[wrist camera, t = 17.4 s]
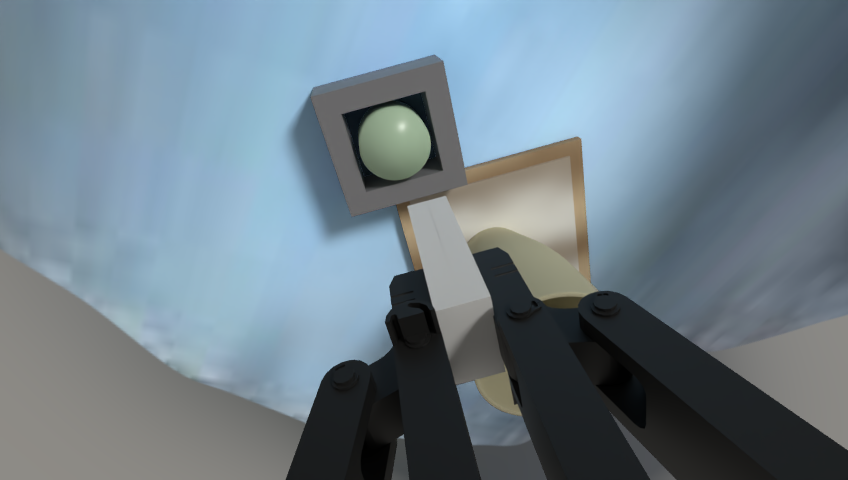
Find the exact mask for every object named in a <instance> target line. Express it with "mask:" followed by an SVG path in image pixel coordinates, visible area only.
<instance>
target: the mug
mask: <svg viewBox="0 0 848 480" xmlns="http://www.w3.org/2000/svg"><path fill="white" fill-rule="evenodd" d="M467 244H468V247H469V249H470V251H471V253H472V254H474V253H477V252H481V251H485V250H489V249H492V248H496V247H498V248H500V249H502V250H503V251H505V252H507V253H508V254H509V255H510V257H511V259H512V261H513V263H514V264H515V266H516V267H517V269H518V271H519V273H520V274H521V276H522V278H523V279H524V281H525V283H526V285H527V286H528V288H529V290H530V291H531V293H532V295H533V297H535V298H538V299H540V300H541V301H542V302H543V303H544V304H545V305H546V306H548V307H552V308H563V309H565V308H578V304H579V302H580V300H581V299H582V298H583V297H585V296H586V295H588V294H590V293H594V292H597V291H598V290H597V289H596V288H595V287H594V286H593V285H592V284H591V283H590V282H589V281H588V280H587V279H586V278H585V277H584V276H583V275H582V274H581V273H580V272H579V271H578V270H577V269H576V268H575V267H574V266H572V265H571V264H570V263H569V262H568V261H567V260H566V259H565V258H563V257H562V256H561V255H560V254H558V253H557V252H555V251H554V250H552V249H551V248H549V247H548V246H546V245H544V244H542V243H540V242H538V241H536V240H533V239H531V238H528V237H526V236H524V235H521V234H519V233H516V232H514V231H512V230H509V229H506V228H502V227H493V228H488V229H485V230H483V231H481V232H479V233H477V234H476V235H475V236H473V237H472V238H471V239H470V240H469V242H468V243H467ZM504 366H505V364H504ZM505 371H506V372H503V373H499V374H495V375H492V376H488V377H484V378H481V379H477V380H475V383H476V386H477V388H478V390H479V392H480V394H481V395H482V396H483V398H484V399H485V400H486V401H487V402H488V403H489V404H491V405H492V406H494V407H495V408H497V409H499V410H501V411H503V412H506V413H509V414H512V415H517V416H522V414H521V412H520V409H519V406H518V404H516V405H514V401H513V396H512V391H511V386H510V381H509V376H508V372H507V369H506V367H505Z"/></svg>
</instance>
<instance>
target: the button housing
mask: <svg viewBox="0 0 848 480" xmlns="http://www.w3.org/2000/svg"><path fill="white" fill-rule="evenodd" d="M417 93H421V96H422V100H423V105H424V109H425V114H426V118H427V122H428V127H429V131H430V135H431V140H432V144H433V148H434V153H435V157H433V158H429V159H428V160H427V161H426V163H425V165H424V166H423V167H422V168H421V169H420V170H419V171H418V172H417V173H416V174H414V175H413V176H411V177H409V178H406V179H402V180H387V179H383V178H380V177H378V176H376V175H375V174H371V175H368V176H364V174H363V171H362V167H361V164H360V161H359V158H358V155H357V152H356V148H355V145H354V142H353V139H352V136H351V133H350V129H349V126H348V123H347V120H346V117H345V113H347V112H351V111H355V110H358V109H362V108H366V107H369V106H373V105H377V104H380V103H384V102H388V101H391V100H395V99H399V98H402V97H406V96H410V95H413V94H417ZM311 100H312V103H313V106H314V109H315V112H316V115H317V118H318V121H319V124H320V126H321V129H322V132H323V135H324V138H325V141H326V144H327V147H328V150H329V152H330V155H331V158H332V161H333V164H334V167H335V170H336V173H337V176H338V179H339V181H340V184H341V187H342V190H343V193H344V196H345V199H346V202H347V205H348V208H349V210H350V213H351V216H352V217H353V216H357V215H360V214H364V213H368V212H371V211H375V210H378V209H382V208H386V207H389V206H393V205H396V204H400V203H404V202H407V201H411V200H414V199H418V198H422V197H425V196H429V195H432V194H436V193H440V192H443V191H447V190H450V189H454V188H458V187H461V186H465V185H468V183H467V178H466V173H465V168H464V163H463V158H462V153H461V148H460V143H459V138H458V133H457V128H456V123H455V118H454V113H453V108H452V103H451V98H450V93H449V88H448V83H447V78H446V73H445V68H444V63H443V60H441V59H440V58H438V57H437V56H435V55H432V56H428V57H425V58H421V59H417V60H414V61H410V62H406V63H402V64H399V65H395V66H391V67H388V68H384V69H380V70H377V71H373V72H369V73H366V74H362V75H358V76H354V77H351V78H347V79H343V80H340V81H336V82H332V83H329V84H325V85H321V86H318V87H314V88H313V90H312V93H311Z"/></svg>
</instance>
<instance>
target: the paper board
mask: <svg viewBox="0 0 848 480" xmlns="http://www.w3.org/2000/svg"><path fill="white" fill-rule="evenodd" d="M465 173H466V178H467V183H468V185H465V186H461V187H458V188H454V189H450V190H447V191H443V192H440V193H436V194H432V195H429V196H425V197H422V198H418V199H414V200H411V201H407V202H404V203H400V204H396V206H397V210H398V213H399V217H400V220H401V224H402V227H403V231H404V234H405V238H406V241H407V245H408V248H409V252H410V255H411V258H412V262H413V265H414V269H415V270H419V269H423V266H422V262H421V258H420V254H419V250H418V246H417V242H416V238H415V234H414V230H413V227H412V223H411V219H410V215H409V211H408V207H407V206H410V205H413V204H417V203H421V202H424V201H428V200H432V199H435V198H439V197H443V196H446V197H447V200H448V202H449V204H450V206H451V209H452V211H453V213H454V215H455V217H456V220H457V222H458V224H459V226H460V229H461V231H462V233H463V235H464V238H465V240H466V242H467V243H468V242H469V240H470V239H471V238H472V237H473V236H475V235H476V234H477V233H479V232H481V231H483V230H485V229H488V228H493V227H502V228H506V229H509V230H512V231H514V232H516V233H519V234H521V235H524V236H526V237H528V238H531V239H533V240H536V241H538V242H540V243H542V244H544V245H546V246H548V247H549V248H551V249H552V250H554V251H555V252H557V253H558V254H560V255H561V256H562V257H563V258H565V259H566V260H567V261H568V262H569V263H570V264H571V265H572V266H574V267H575V268H576V269H577V270H578V271H579V272H580V273H581V274H582V275H583V276H584V277H585V278H586V279H587V280H588V281H589V282H590V283H591V280H590V265H589V250H588V235H587V220H586V205H585V190H584V175H583V160H582V145H581V139H580V138H579V137H574V138H571V139H567V140H564V141H560V142H556V143H553V144H549V145H546V146H542V147H538V148H535V149H531V150H527V151H524V152H520V153H517V154H513V155H509V156H506V157H502V158H499V159H495V160H491V161H488V162H484V163H481V164H477V165H473V166H470V167H466V168H465Z"/></svg>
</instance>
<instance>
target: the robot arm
mask: <svg viewBox="0 0 848 480" xmlns="http://www.w3.org/2000/svg"><path fill="white" fill-rule="evenodd" d="M407 207H408V211H409V215H410V219H411V223H412V227H413V230H414V234H415V238H416V242H417V246H418V250H419V254H420V258H421V262H422V266H423V269H419V270H415V271H411V272H408V273H404V274H400V275H397V276H394V278H393V280H392V282H391V284H390V286H389V288H390V296H391V304H392V309H391V310H390V312H389V313H388V315H387V316H386V321H385V324H386V327H387V329H388V332H389V335H390V338H391V341H392V344H393V347H392V348H391V350H390V351H389V352H388V353H387V354H386V355H385V356H384V357H382V358H381V359H379V360H378V361H376V362H374V363H372V364H370V365H369V366H368V365H367V364H366V363H364V362H362V361H360V360H349V361H345V362H342V363H340V364H338V365H336V366H334V367H333V368H332V369H330V370H329V371H328V372H327V373H326V374H325V376H324V378H323V379H322V381H321V384H320V386H319V389H318V392H317V395H316V397H315V400H314V403H313V406H312V408H311V411H310V414H309V417H308V420H307V422H306V425H305V428H304V431H303V433H302V436H301V439H300V442H299V444H298V447H297V450H296V453H295V455H294V458H293V461H292V464H291V466H290V469H289V472H288V475H287V478H286V480H391V478H392V472H393V466H394V460H395V454H396V448H397V438H398V437H400V436H402V435H403V434H404V438H405V447H406V454H407V463H408V471H409V480H481V477H480V474H479V470H478V466H477V463H476V459H475V455H474V451H473V447H472V443H471V440H470V436H469V432H468V428H467V425H466V421H465V417H464V413H463V410H462V406H461V402H460V398H459V395H458V391H457V388H456V385H459V384H462V383H466V382H470V381H473V380H477V379H481V378H484V377H488V376H492V375H495V374H499V373H503V372H506V371H505V367H506V369H507V372H508V376H509V381H510V386H511V391H512V396H513V401H514V405H516V404H518V406H519V409H520V412H521V414H522V417H523V419H524V422H525V424H526V427H527V429H528V432H529V434H530V437H531V440H532V442H533V445H534V447H535V450H536V452H537V455H538V457H539V460H540V462H541V465H542V467H543V470H544V473H545V475H546V478H547V480H650V478H649V477H648V475H647V473H646V472H645V470H644V468H643V467H642V465H641V464H640V462H639V460H638V458H637V457H636V455H635V453H634V452H633V450H632V448H631V447H630V445H629V443H628V442H627V440H626V438H625V437H624V435H623V433H622V432H621V430H620V429H619V427H618V425H617V423H616V422H615V420H614V419H613V417H612V415H611V413H612V414H613V415H614V416H615V417H616V418H617V419H618V420H619V421H620V422H621V423H622V424H623V425H624V426H625V427H626V428H627V429H628V431H630V432H631V434H632V435H633V436H634V437H635V438H636V439H637V440H638V441H639V442H640V443H641V444H642V445H643V446H644V447H645V448H646V449H647V450H648V451H649V452H650V453H651V454H652V455H653V456H654V457H655V458H656V459H657V460H658V461H659V462H660V463H661V464H662V465H663V466H664V467H665V468H666V469H667V470H668V471H669V472H670V473H671V474H672V475H673V476H674V477H675V479H677V480H848V450H847V449H845V448H844V447H842V446H841V445H839V444H838V443H836V442H835V441H834V440H832V439H831V438H829V437H828V436H826V435H824V434H823V433H822V432H820V431H819V430H818V429H816V428H815V427H813V426H812V425H810V424H809V423H808V422H806V421H805V420H803V419H802V418H800V417H799V416H797V415H796V414H794V413H793V412H792V411H790V410H788V409H787V408H786V407H784V406H783V405H782V404H780V403H779V402H777V401H776V400H774V399H773V398H771V397H770V396H769V395H767V394H766V393H764V392H763V391H761V390H760V389H758V388H757V387H756V386H754V385H753V384H751V383H750V382H748V381H747V380H746V379H744V378H743V377H741V376H740V375H738V374H737V373H735V372H734V371H733V370H731V369H729V368H728V367H727V366H725V365H724V364H722V363H721V362H720V361H718V360H717V359H715V358H714V357H712V356H711V355H710V354H708V353H707V352H705V351H704V350H702V349H701V348H699V347H698V346H697V345H695V344H694V343H692V342H691V341H689V340H688V339H686V338H685V337H684V336H682V335H681V334H679V333H678V332H676V331H675V330H673V329H672V328H671V327H669V326H668V325H666V324H665V323H663V322H662V321H660V320H659V319H658V318H656V317H655V316H653V315H652V314H650V313H649V312H647V311H646V310H645V309H643V308H642V307H640V306H639V305H637V304H636V303H635V302H633V301H632V300H630V299H629V298H627V297H626V296H623V295H621V294H619V293H616V292H611V291H597V292H594V293H590V294H588V295H586V296H585V297H583V298H582V299H581V300H580V302H579V304H578V308H565V309H563V308H552V307H548V306H546V305H545V304H544V303H543V302H542V301H541V300H540V299H538V298H535V297H533V295H532V293H531V291H530V290H529V288H528V286H527V285H526V283H525V281H524V279H523V278H522V276H521V274H520V273H519V271H518V269H517V267H516V266H515V264H514V263H513V261H512V259H511V257H510V255H509V254H508V253H507V252H505V251H503V250H502V249H500V248H498V247H496V248H492V249H489V250H485V251H481V252H477V253H474V254H472V253H471V251H470V249H469V247H468V244H467V242H466V240H465V238H464V235H463V233H462V231H461V229H460V226H459V224H458V222H457V220H456V217H455V215H454V213H453V211H452V209H451V206H450V204H449V202H448V200H447V197H446V196H443V197H439V198H435V199H432V200H428V201H424V202H421V203H417V204H413V205H410V206H407ZM504 364H505V366H504ZM609 411H610V412H611V413H610V412H609Z"/></svg>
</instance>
